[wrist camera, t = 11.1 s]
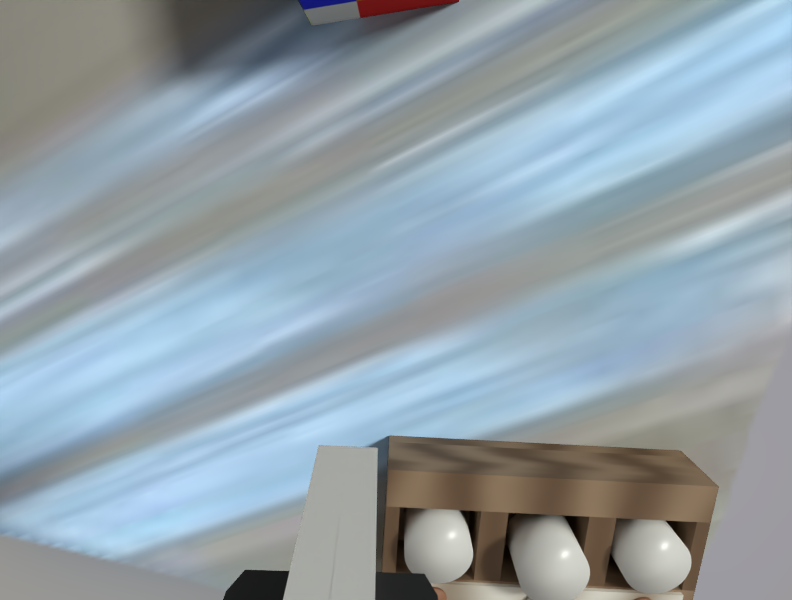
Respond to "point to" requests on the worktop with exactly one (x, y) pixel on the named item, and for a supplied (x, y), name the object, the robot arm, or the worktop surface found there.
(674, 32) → the worktop surface
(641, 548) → the right button
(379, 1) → the puzzle toy
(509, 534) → the middle button
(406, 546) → the left button
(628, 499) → the button panel
